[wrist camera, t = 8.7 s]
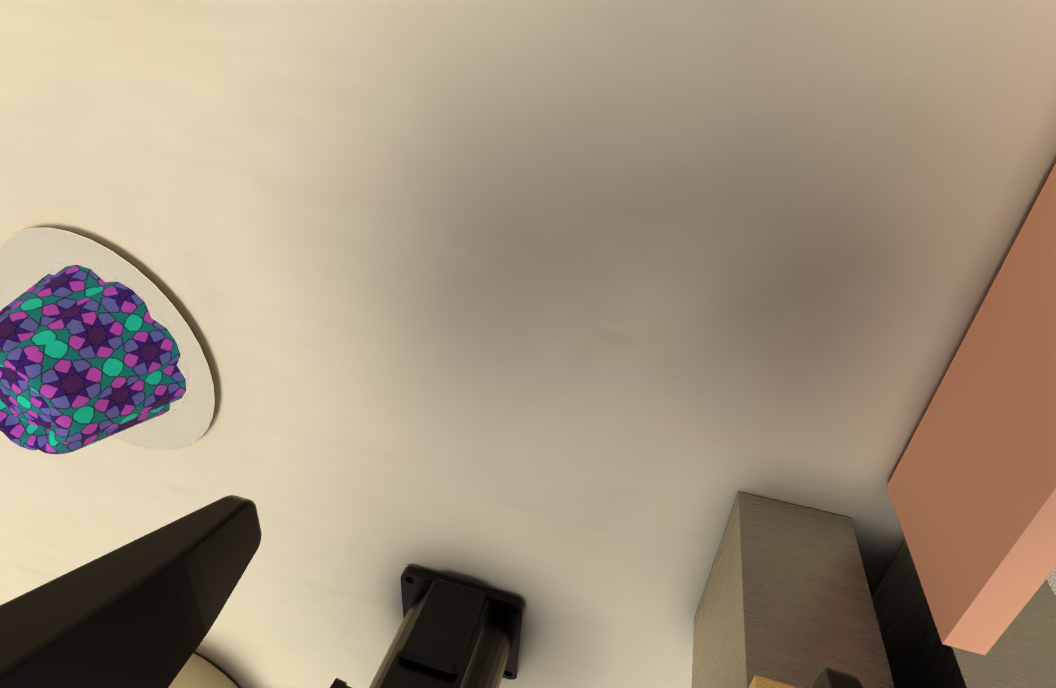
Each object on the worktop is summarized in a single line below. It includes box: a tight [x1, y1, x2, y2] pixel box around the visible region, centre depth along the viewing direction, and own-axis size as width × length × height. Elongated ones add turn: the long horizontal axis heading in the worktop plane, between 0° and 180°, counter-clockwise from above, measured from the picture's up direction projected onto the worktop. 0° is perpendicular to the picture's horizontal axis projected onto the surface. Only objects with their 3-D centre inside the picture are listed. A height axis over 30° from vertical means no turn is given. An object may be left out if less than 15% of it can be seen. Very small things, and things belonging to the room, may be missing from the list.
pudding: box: [0, 227, 215, 454], centre depth 26 cm, size 12×12×5 cm
